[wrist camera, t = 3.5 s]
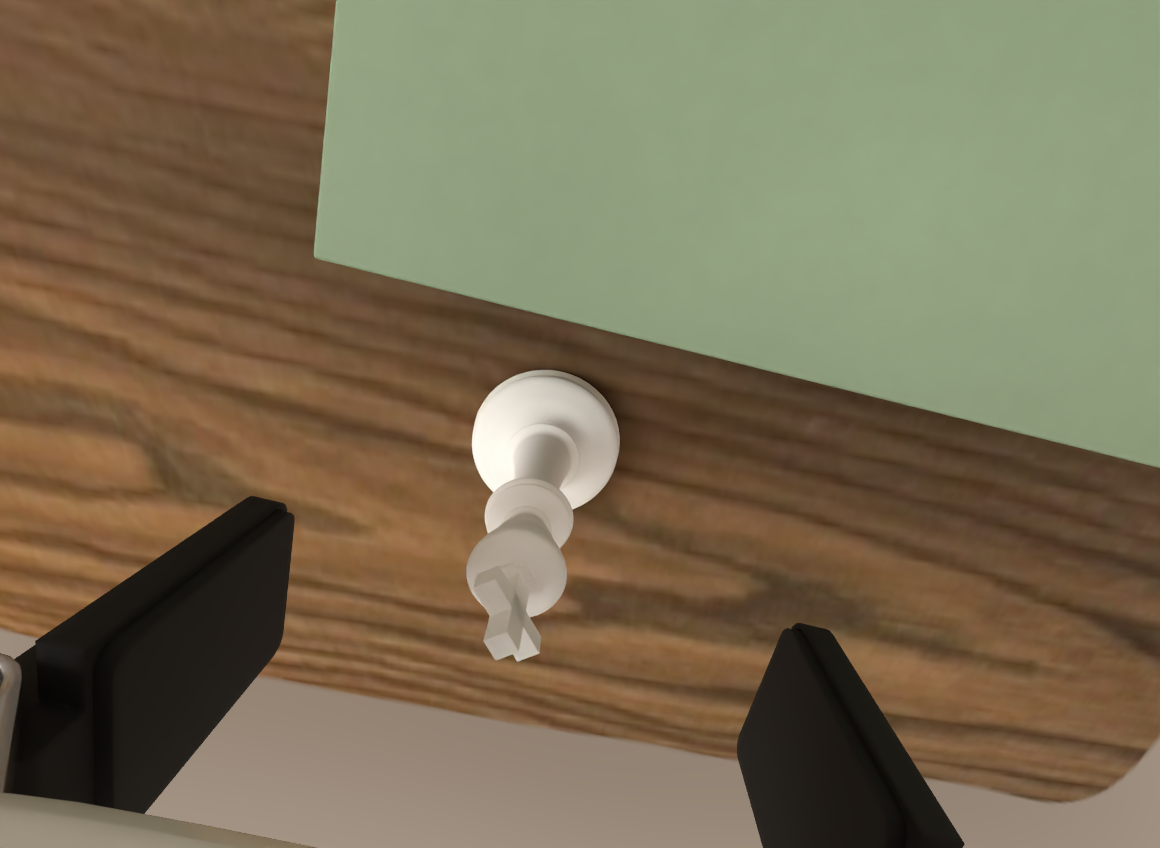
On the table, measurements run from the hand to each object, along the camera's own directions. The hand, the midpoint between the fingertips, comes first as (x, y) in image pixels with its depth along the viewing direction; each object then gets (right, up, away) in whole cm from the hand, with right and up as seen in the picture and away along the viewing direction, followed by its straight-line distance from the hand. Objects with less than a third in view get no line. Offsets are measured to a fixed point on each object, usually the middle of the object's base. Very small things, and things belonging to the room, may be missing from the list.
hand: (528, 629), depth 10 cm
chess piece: (0, +3, +8) cm, 9 cm away
